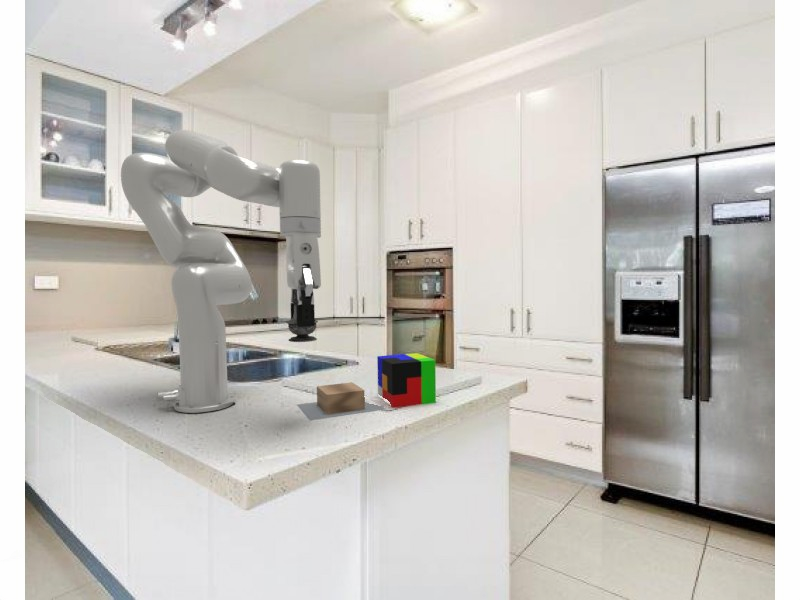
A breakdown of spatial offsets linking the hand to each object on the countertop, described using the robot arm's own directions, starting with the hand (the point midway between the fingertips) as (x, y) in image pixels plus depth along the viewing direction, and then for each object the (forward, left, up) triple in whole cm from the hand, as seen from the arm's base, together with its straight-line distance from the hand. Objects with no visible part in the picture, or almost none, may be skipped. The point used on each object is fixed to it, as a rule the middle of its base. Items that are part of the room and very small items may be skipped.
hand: (302, 323), depth 86 cm
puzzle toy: (+24, +5, -20) cm, 31 cm away
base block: (+9, +6, -19) cm, 22 cm away
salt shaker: (0, 0, -3) cm, 3 cm away
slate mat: (+9, +6, -19) cm, 22 cm away
